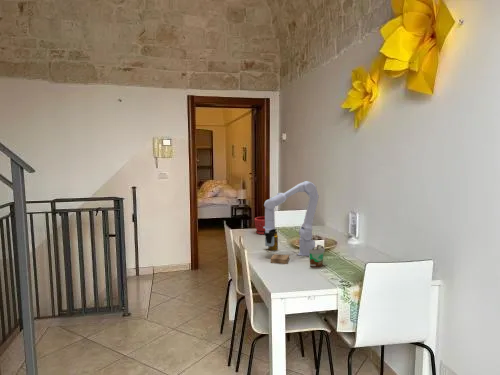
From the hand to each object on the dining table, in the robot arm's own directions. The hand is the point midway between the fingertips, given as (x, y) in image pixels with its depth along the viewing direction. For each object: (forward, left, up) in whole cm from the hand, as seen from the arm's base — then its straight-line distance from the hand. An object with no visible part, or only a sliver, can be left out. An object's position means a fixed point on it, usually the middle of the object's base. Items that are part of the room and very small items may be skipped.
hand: (270, 242), depth 218 cm
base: (-8, +9, -8) cm, 15 cm away
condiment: (+2, -13, -8) cm, 16 cm away
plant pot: (+19, -57, -8) cm, 61 cm away
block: (0, 0, -2) cm, 2 cm away
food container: (-30, +12, -8) cm, 33 cm away
